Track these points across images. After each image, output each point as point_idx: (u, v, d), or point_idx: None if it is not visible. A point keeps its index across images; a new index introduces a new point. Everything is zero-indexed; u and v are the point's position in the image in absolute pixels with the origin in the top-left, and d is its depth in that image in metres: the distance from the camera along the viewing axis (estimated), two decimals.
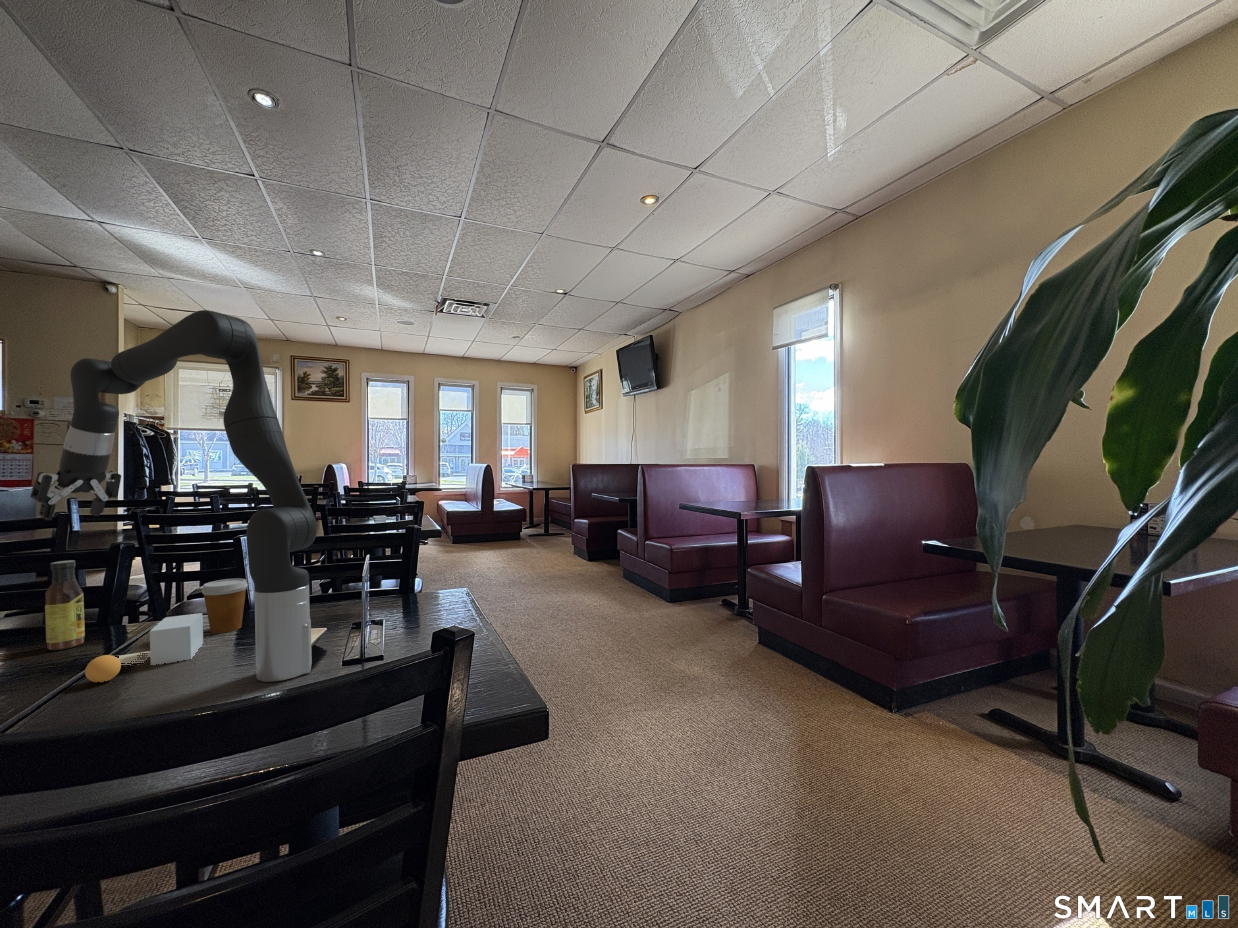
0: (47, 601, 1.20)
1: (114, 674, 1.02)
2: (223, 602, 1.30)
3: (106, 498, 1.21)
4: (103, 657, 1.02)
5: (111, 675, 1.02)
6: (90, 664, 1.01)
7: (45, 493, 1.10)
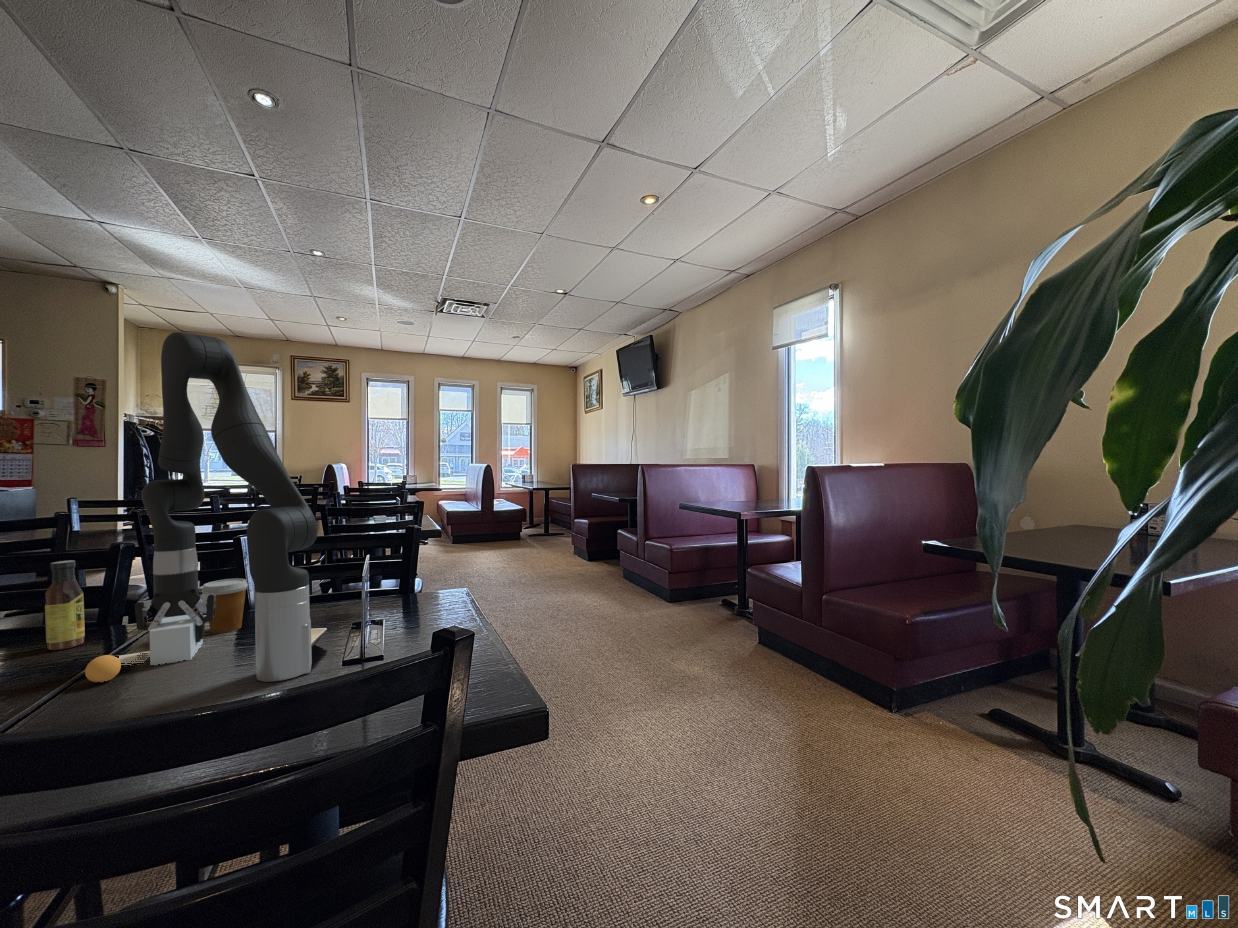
0: (47, 601, 1.20)
1: (114, 674, 1.02)
2: (223, 602, 1.30)
3: (200, 622, 1.17)
4: (103, 657, 1.02)
5: (111, 675, 1.02)
6: (90, 664, 1.01)
7: (141, 620, 1.12)
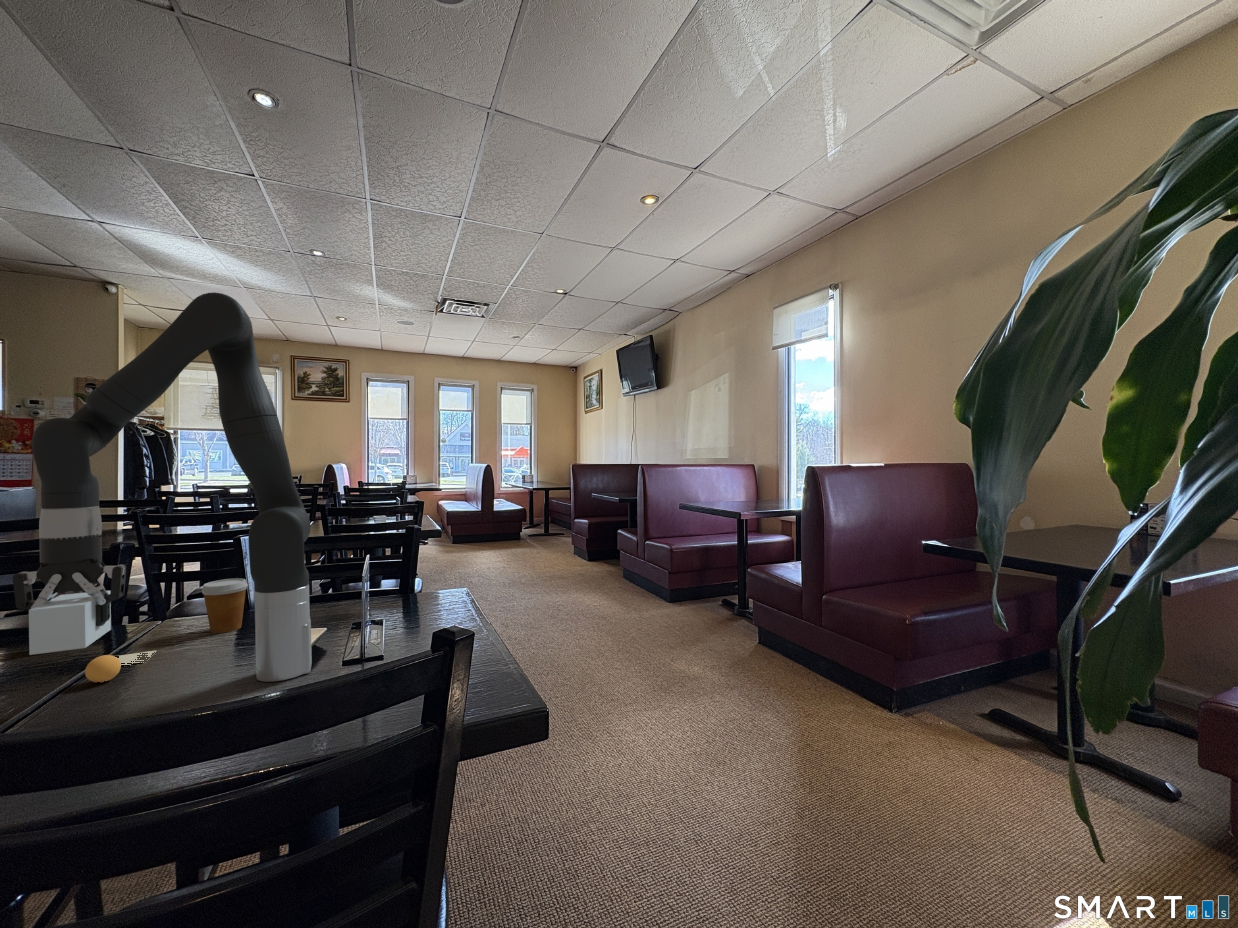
0: None
1: (114, 674, 1.02)
2: (223, 602, 1.30)
3: (102, 601, 0.92)
4: (103, 657, 1.02)
5: (111, 675, 1.02)
6: (90, 664, 1.01)
7: (22, 596, 0.88)
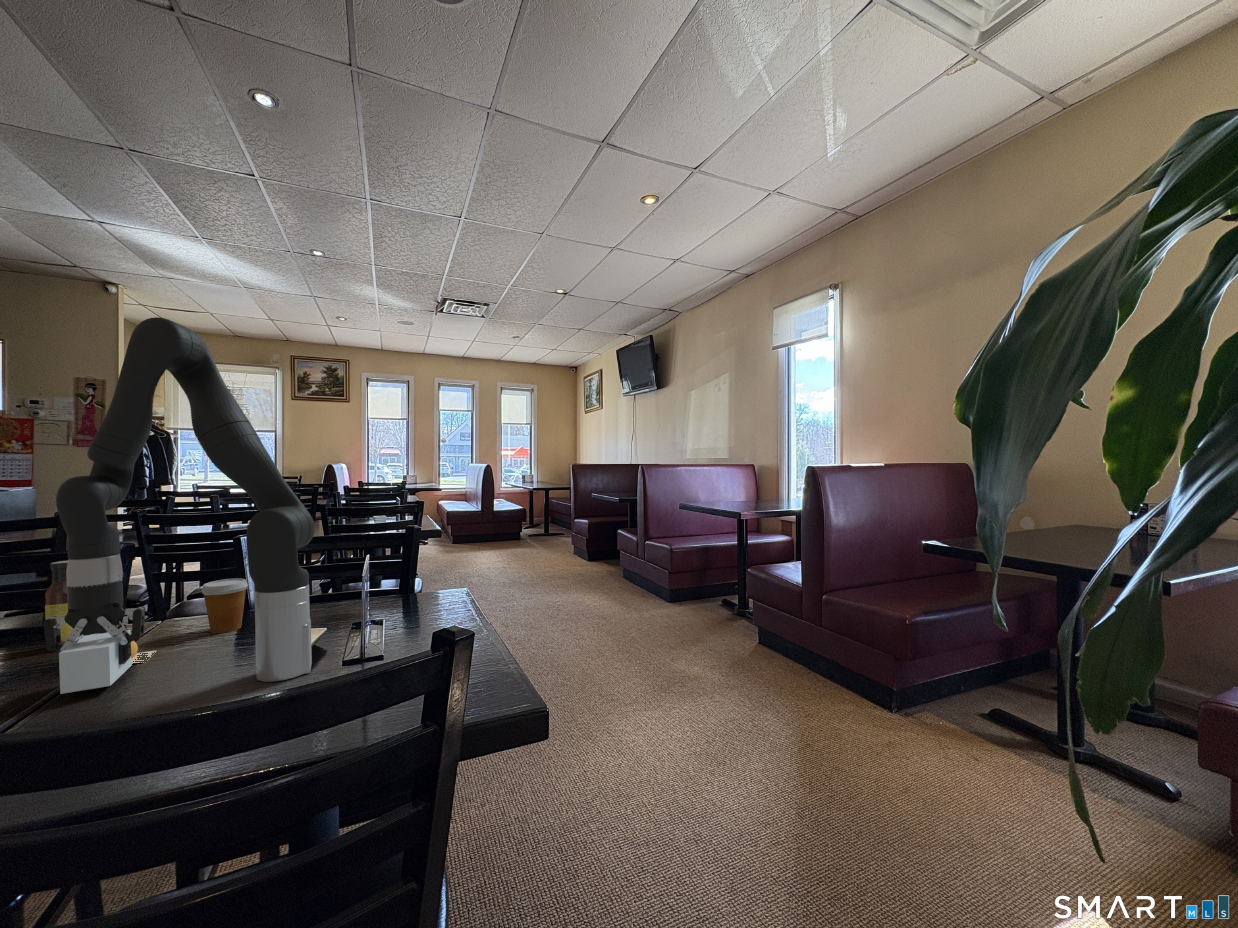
0: (47, 601, 1.20)
1: None
2: (223, 602, 1.30)
3: (124, 641, 1.01)
4: None
5: None
6: None
7: (52, 640, 0.96)
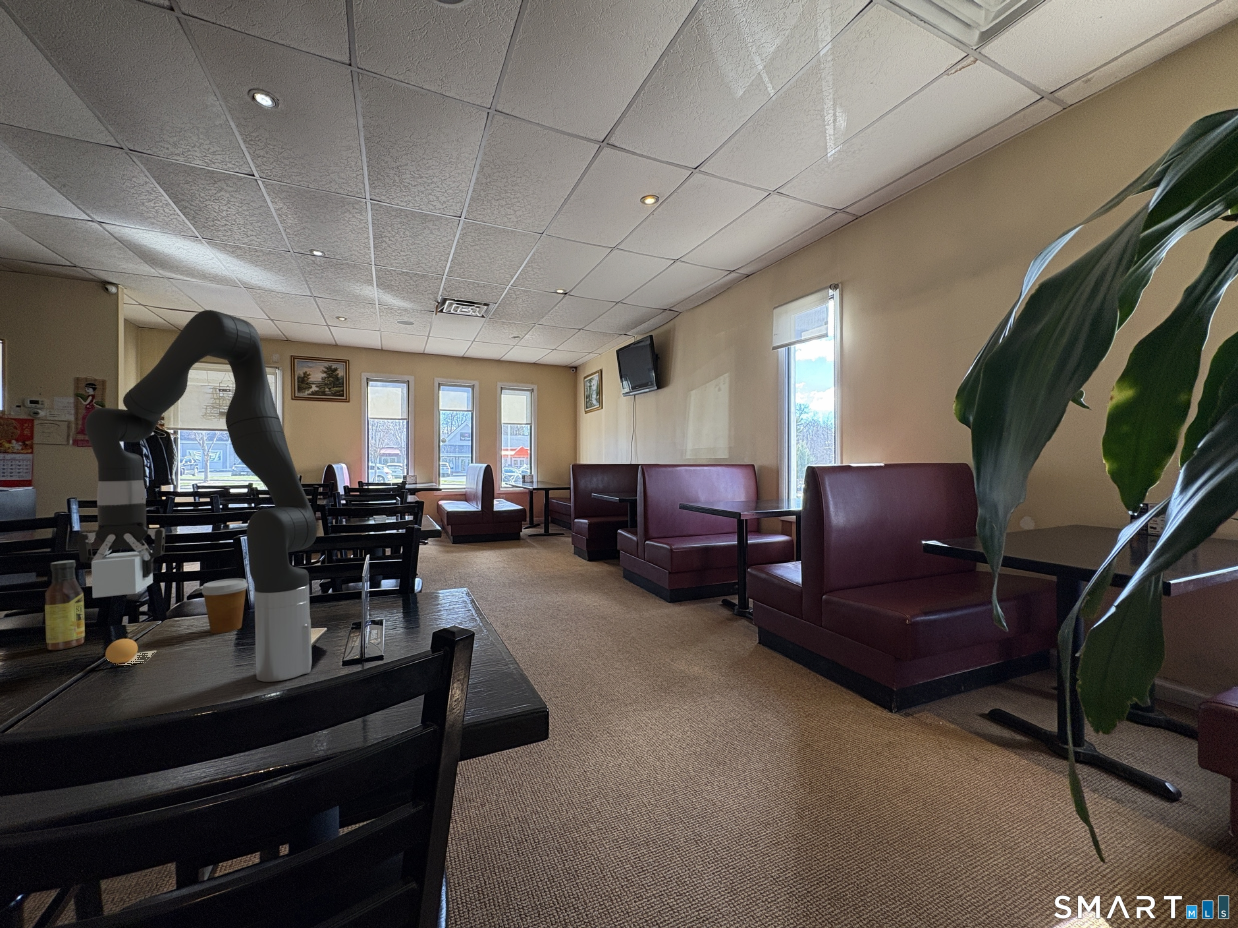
0: (47, 601, 1.20)
1: None
2: (223, 602, 1.30)
3: (148, 557, 1.14)
4: (120, 661, 1.10)
5: None
6: None
7: (84, 552, 1.09)
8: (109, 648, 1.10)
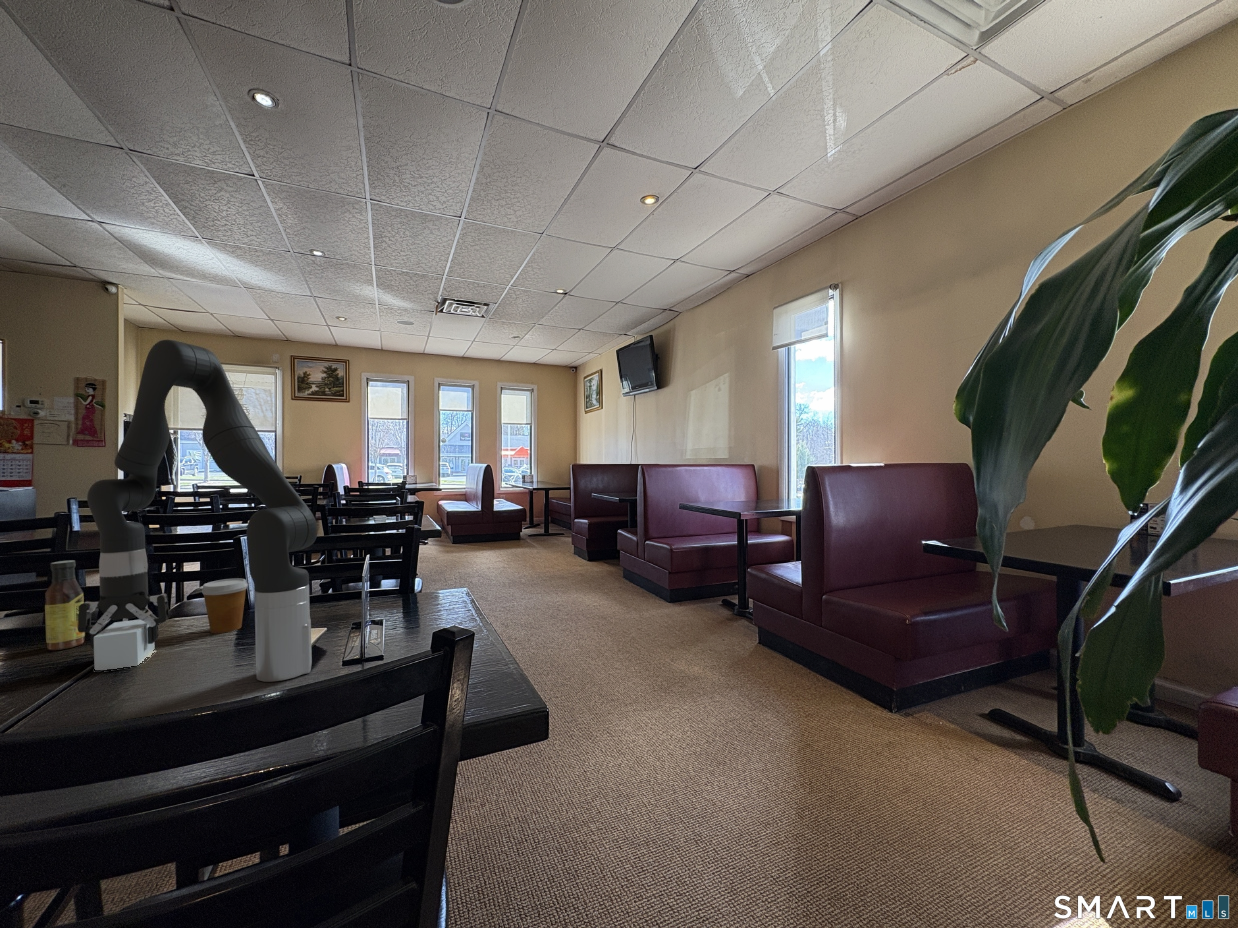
0: (47, 601, 1.20)
1: None
2: (223, 602, 1.30)
3: (153, 623, 1.14)
4: None
5: None
6: None
7: (83, 622, 1.09)
8: None
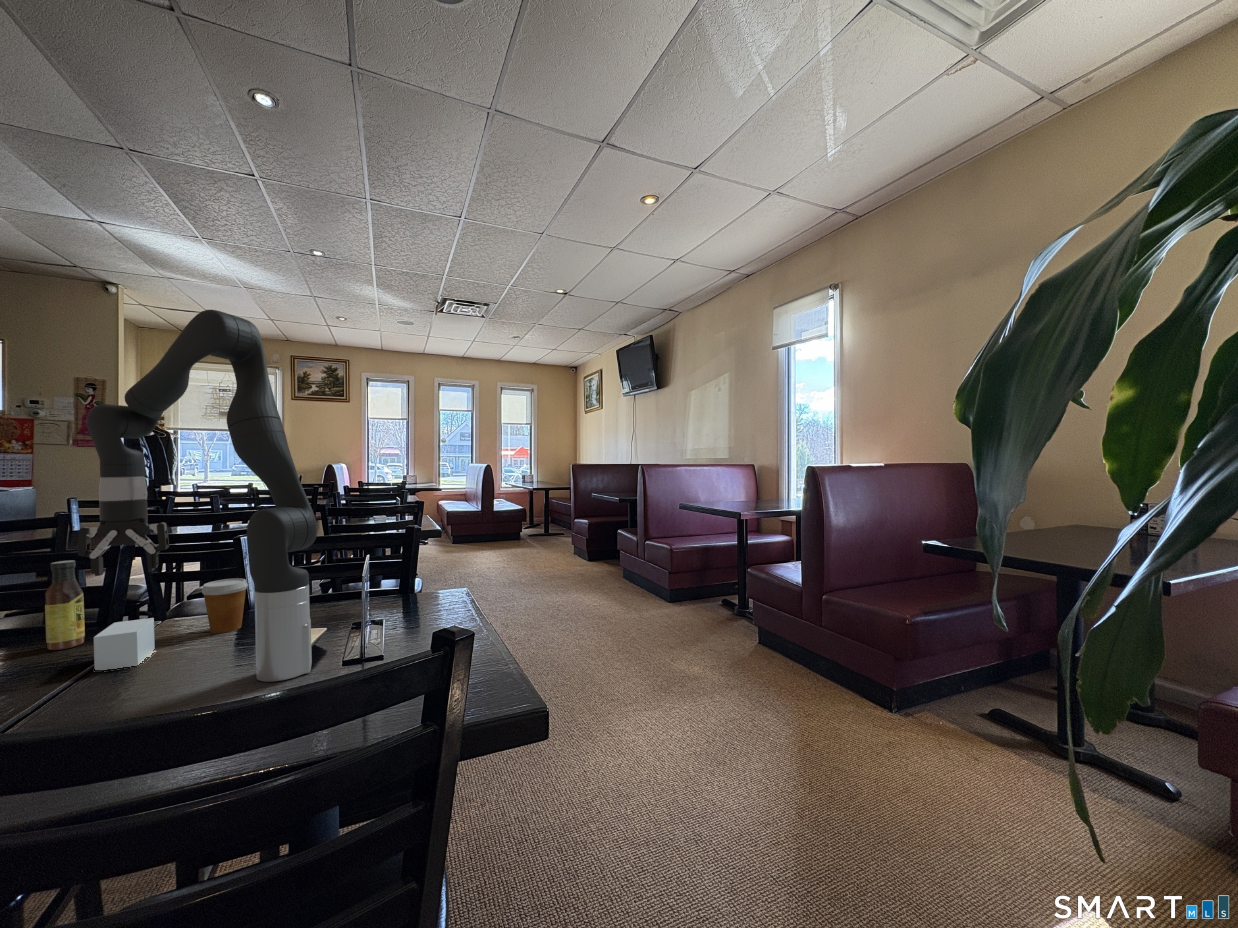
0: (47, 601, 1.20)
1: None
2: (223, 602, 1.30)
3: (153, 550, 1.14)
4: None
5: None
6: None
7: (83, 546, 1.09)
8: None
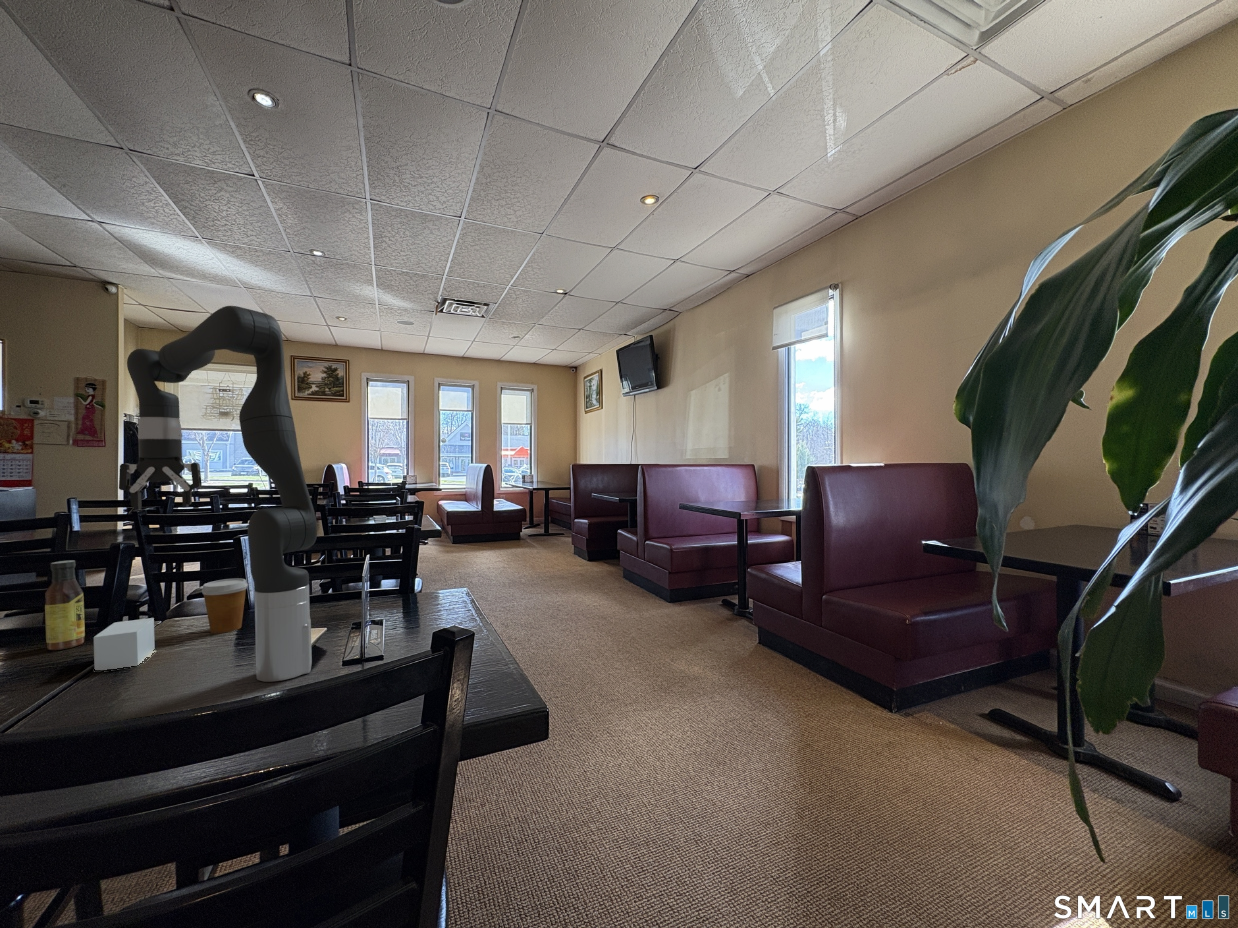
0: (47, 601, 1.20)
1: None
2: (223, 602, 1.30)
3: (187, 488, 1.22)
4: None
5: None
6: None
7: (124, 481, 1.17)
8: None
